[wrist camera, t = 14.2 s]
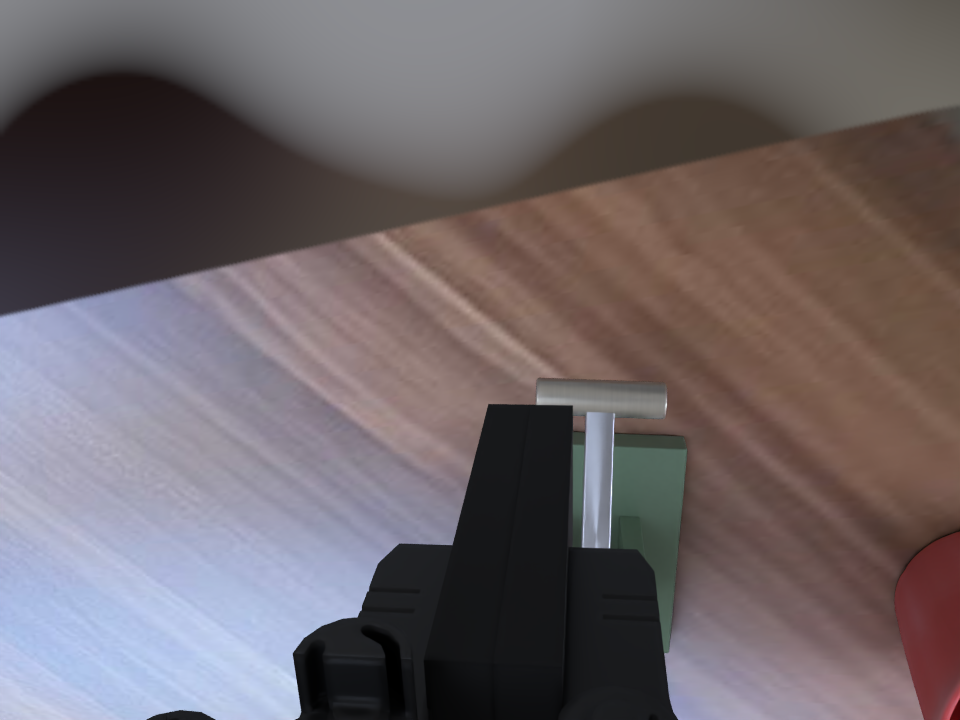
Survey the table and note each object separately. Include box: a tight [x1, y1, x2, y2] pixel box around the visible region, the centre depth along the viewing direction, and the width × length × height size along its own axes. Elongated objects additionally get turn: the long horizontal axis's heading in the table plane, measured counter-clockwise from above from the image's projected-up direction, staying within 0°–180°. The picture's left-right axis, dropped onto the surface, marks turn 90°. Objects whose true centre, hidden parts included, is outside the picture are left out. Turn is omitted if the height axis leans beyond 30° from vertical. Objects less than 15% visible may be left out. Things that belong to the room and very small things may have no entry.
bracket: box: [572, 432, 687, 653], centre depth 39 cm, size 12×9×14 cm
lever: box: [536, 378, 667, 548], centre depth 34 cm, size 14×5×2 cm, turn 0°
